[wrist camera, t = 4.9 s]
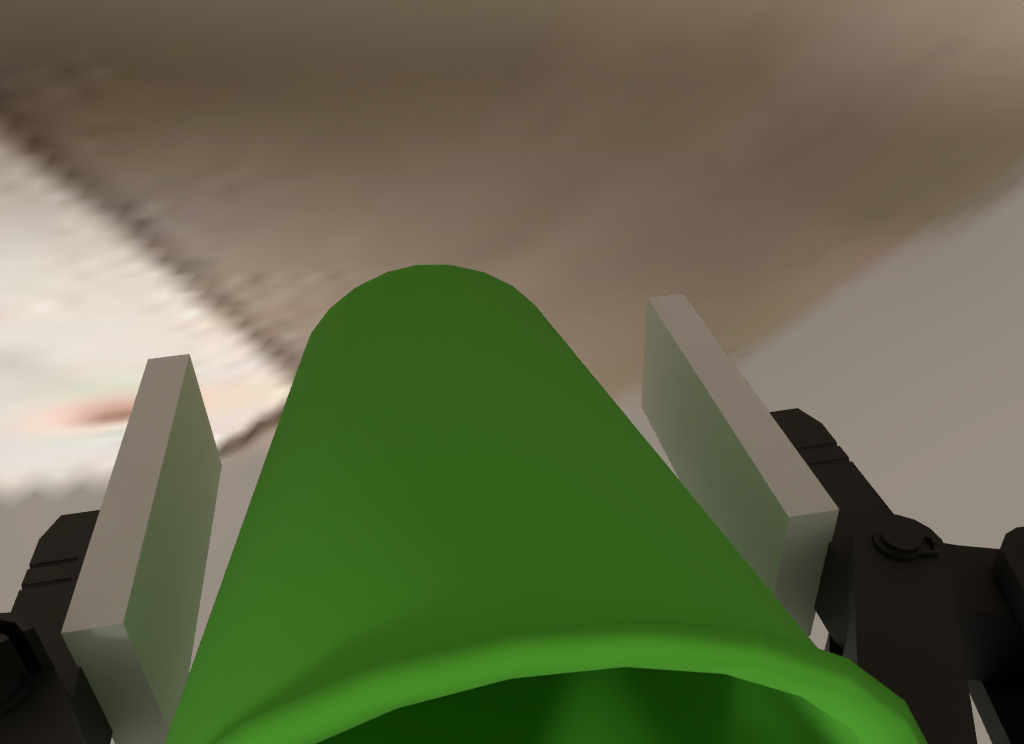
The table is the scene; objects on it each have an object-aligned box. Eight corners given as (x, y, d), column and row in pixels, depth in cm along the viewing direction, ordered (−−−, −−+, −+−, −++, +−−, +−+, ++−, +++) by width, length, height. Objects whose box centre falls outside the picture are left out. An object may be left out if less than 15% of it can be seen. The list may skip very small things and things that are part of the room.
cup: (714, 373, 19) (1050, 871, 10) (407, 587, 21) (466, 1163, 12) (462, 51, 15) (679, 453, 6) (98, 364, 17) (-175, 1034, 8)
